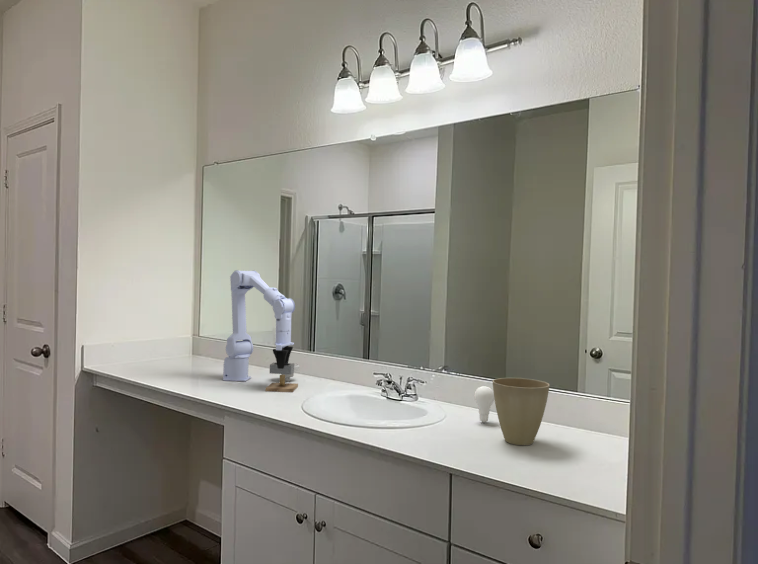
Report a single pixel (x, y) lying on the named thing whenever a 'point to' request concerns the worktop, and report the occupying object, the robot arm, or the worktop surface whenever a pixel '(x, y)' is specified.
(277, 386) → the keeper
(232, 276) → the robot arm
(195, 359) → the worktop surface
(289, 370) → the grey rectangular block
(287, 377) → the showerhead
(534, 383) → the plant pot
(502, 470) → the worktop surface
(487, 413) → the lightbulb
